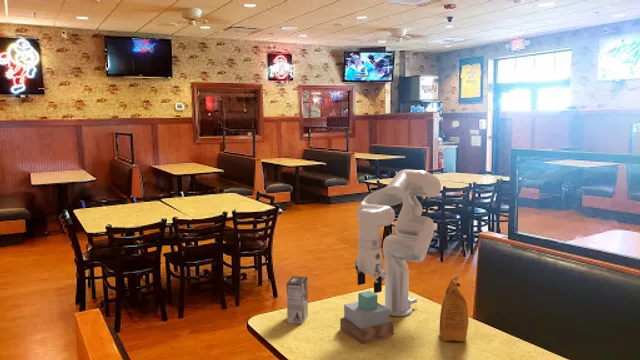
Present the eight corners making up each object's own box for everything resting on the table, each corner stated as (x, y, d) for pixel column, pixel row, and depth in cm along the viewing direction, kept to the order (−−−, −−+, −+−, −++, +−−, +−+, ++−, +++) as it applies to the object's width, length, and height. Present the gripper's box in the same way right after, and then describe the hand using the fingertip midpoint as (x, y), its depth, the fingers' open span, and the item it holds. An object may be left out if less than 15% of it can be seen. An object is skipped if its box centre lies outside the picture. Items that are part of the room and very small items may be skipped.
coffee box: (292, 313, 198) (292, 275, 197) (308, 315, 197) (307, 276, 195) (286, 323, 190) (286, 283, 188) (303, 324, 188) (302, 284, 186)
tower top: (371, 311, 189) (371, 298, 188) (389, 322, 178) (389, 309, 178) (344, 317, 184) (344, 304, 183) (361, 329, 173) (361, 315, 172)
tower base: (369, 322, 191) (370, 310, 190) (393, 335, 179) (393, 322, 178) (340, 330, 183) (340, 318, 183) (362, 345, 171) (362, 331, 171)
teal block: (369, 303, 183) (369, 290, 183) (377, 308, 179) (377, 294, 178) (358, 306, 181) (358, 293, 180) (366, 310, 177) (366, 297, 176)
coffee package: (467, 330, 182) (469, 273, 179) (468, 345, 170) (470, 284, 167) (439, 327, 184) (441, 271, 182) (438, 341, 173) (440, 281, 170)
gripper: (392, 246, 171) (392, 293, 174) (363, 236, 186) (363, 279, 188) (375, 250, 167) (376, 297, 170) (346, 239, 182) (347, 283, 184)
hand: (369, 288), depth 179 cm, fingers open, 9 cm apart
